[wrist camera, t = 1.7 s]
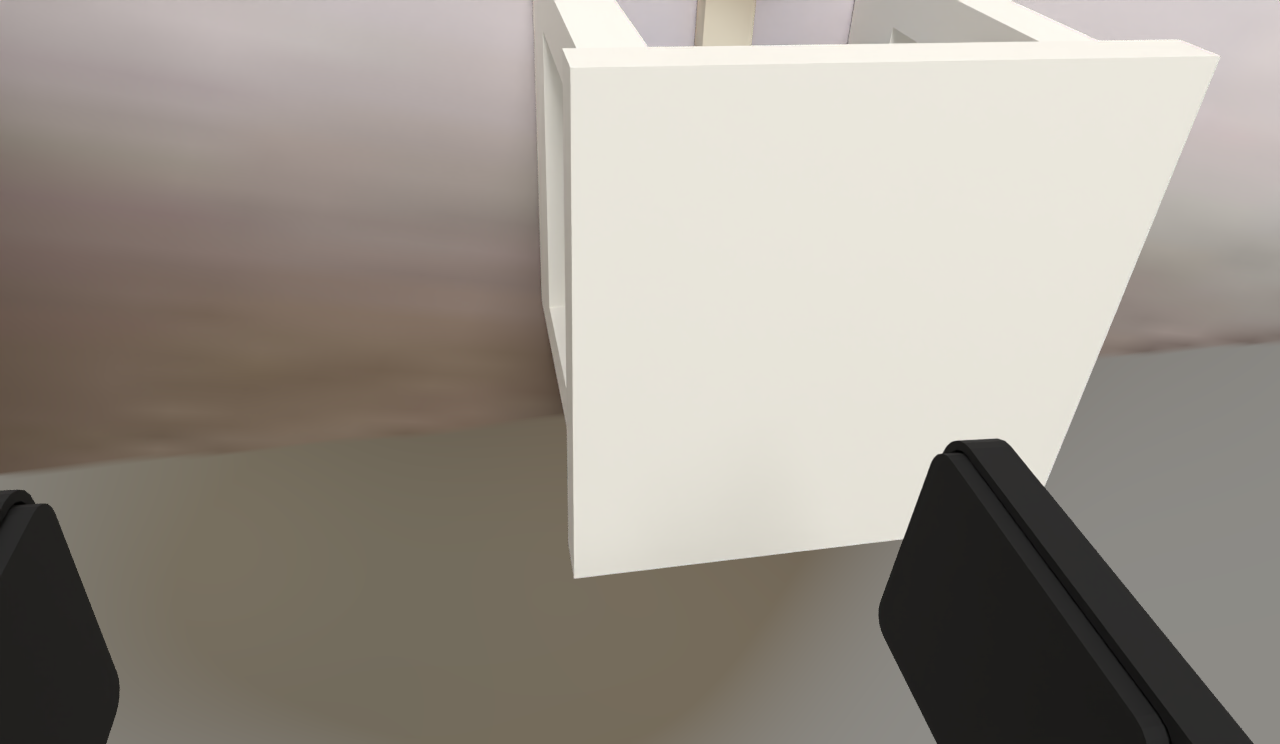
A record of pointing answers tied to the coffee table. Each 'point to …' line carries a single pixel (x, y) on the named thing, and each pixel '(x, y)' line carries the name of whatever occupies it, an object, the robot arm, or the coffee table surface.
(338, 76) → the coffee table surface
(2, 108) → the coffee table surface
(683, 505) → the white open frame box
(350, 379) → the coffee table surface
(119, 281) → the coffee table surface
